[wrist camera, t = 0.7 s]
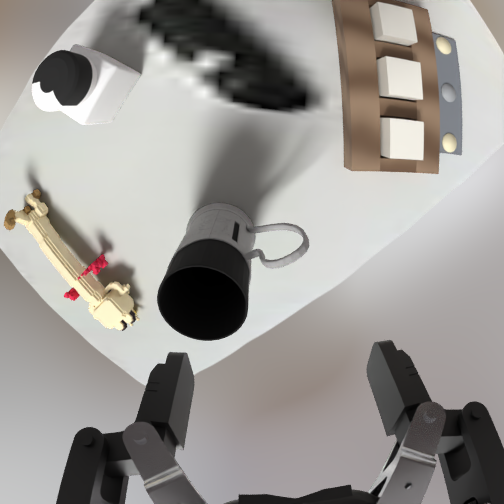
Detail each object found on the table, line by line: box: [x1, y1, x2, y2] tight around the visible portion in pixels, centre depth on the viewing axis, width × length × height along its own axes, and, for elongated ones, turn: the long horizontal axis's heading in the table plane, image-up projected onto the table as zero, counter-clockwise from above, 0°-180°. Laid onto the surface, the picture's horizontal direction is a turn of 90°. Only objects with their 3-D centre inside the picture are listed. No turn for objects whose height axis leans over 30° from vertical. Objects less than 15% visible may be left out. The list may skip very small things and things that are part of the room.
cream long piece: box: [4, 189, 140, 331], centre depth 35 cm, size 10×9×25 cm
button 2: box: [369, 2, 418, 47], centre depth 22 cm, size 4×4×3 cm
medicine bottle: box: [32, 44, 141, 125], centre depth 23 cm, size 7×7×12 cm
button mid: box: [376, 56, 423, 100], centre depth 25 cm, size 4×4×3 cm
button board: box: [332, 0, 440, 174], centre depth 27 cm, size 22×12×3 cm, turn 4°
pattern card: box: [432, 33, 462, 155], centre depth 27 cm, size 17×5×1 cm, turn 4°
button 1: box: [380, 118, 424, 160], centre depth 28 cm, size 4×4×3 cm
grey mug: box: [157, 203, 309, 341], centre depth 30 cm, size 9×14×15 cm, turn 117°
